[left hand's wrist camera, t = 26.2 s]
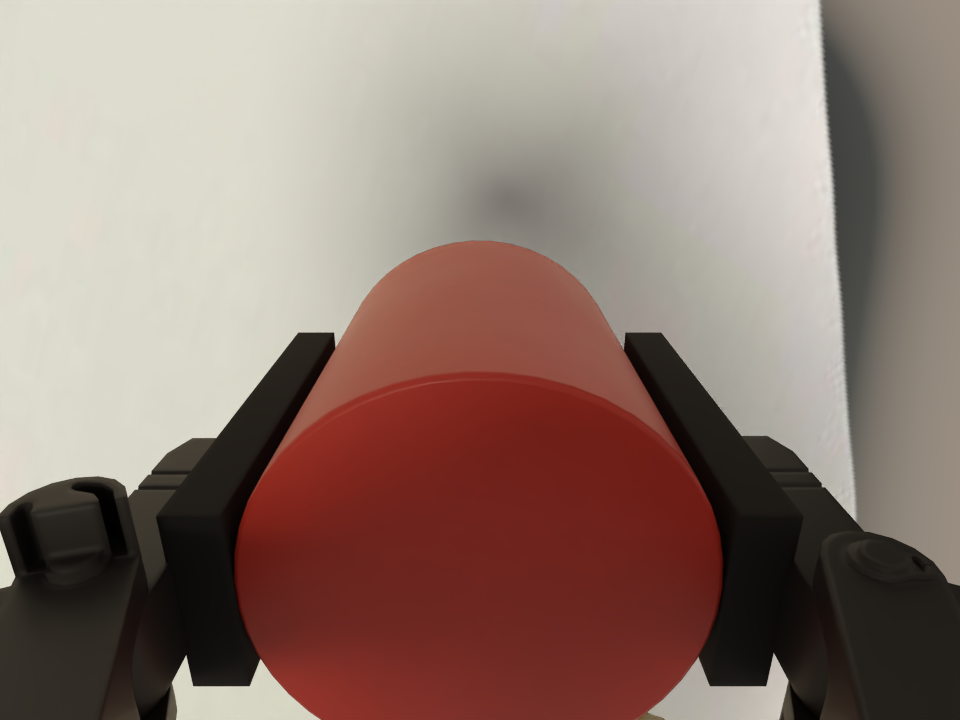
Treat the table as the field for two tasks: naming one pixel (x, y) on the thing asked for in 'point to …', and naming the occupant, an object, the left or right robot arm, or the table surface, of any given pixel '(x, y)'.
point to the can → (478, 511)
